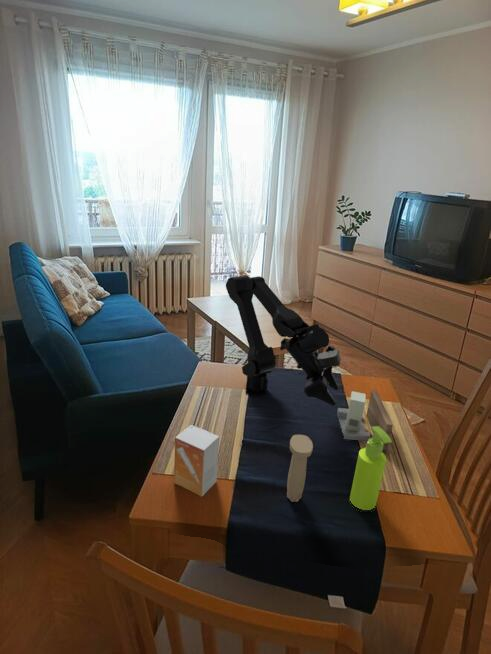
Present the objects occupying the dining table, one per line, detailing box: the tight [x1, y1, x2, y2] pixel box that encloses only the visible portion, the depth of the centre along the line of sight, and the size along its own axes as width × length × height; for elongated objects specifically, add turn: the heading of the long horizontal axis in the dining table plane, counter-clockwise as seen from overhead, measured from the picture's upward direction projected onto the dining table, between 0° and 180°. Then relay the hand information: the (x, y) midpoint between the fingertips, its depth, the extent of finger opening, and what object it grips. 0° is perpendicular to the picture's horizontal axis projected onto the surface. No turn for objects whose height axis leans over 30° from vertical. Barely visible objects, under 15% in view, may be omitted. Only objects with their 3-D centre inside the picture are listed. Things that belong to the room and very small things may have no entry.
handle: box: [286, 434, 314, 503], centre depth 98 cm, size 5×6×15 cm
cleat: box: [336, 407, 371, 443], centre depth 129 cm, size 7×14×2 cm, turn 178°
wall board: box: [366, 389, 394, 454], centre depth 126 cm, size 3×18×9 cm, turn 178°
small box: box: [173, 424, 220, 498], centre depth 101 cm, size 8×6×13 cm
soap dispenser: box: [349, 426, 393, 510], centre depth 97 cm, size 6×7×20 cm
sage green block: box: [345, 390, 366, 431], centre depth 127 cm, size 4×6×10 cm
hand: (336, 396), depth 128 cm, fingers open, 9 cm apart
